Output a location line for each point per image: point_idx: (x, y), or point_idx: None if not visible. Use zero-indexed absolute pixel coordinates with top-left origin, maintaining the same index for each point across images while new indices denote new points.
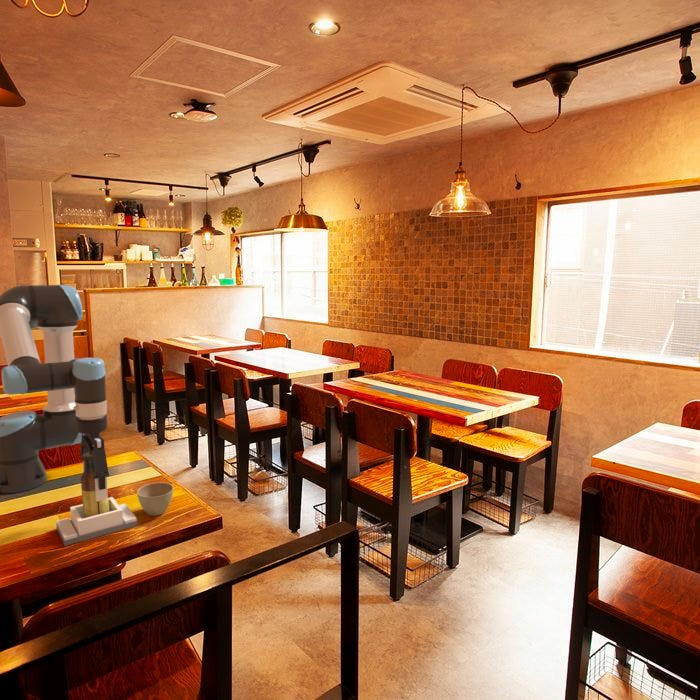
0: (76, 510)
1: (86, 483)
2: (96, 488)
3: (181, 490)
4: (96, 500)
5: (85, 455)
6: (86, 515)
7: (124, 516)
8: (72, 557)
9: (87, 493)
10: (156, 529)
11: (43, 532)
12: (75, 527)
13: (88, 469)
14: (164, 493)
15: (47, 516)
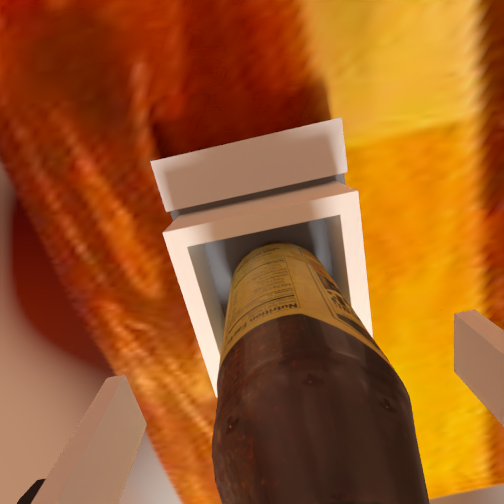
0: (298, 222)
1: (231, 397)
2: (56, 469)
3: None
4: (107, 382)
5: None
6: (249, 261)
7: None
8: (65, 188)
9: (229, 340)
10: (181, 421)
11: (321, 63)
12: (243, 202)
13: None
14: None
15: (484, 70)
